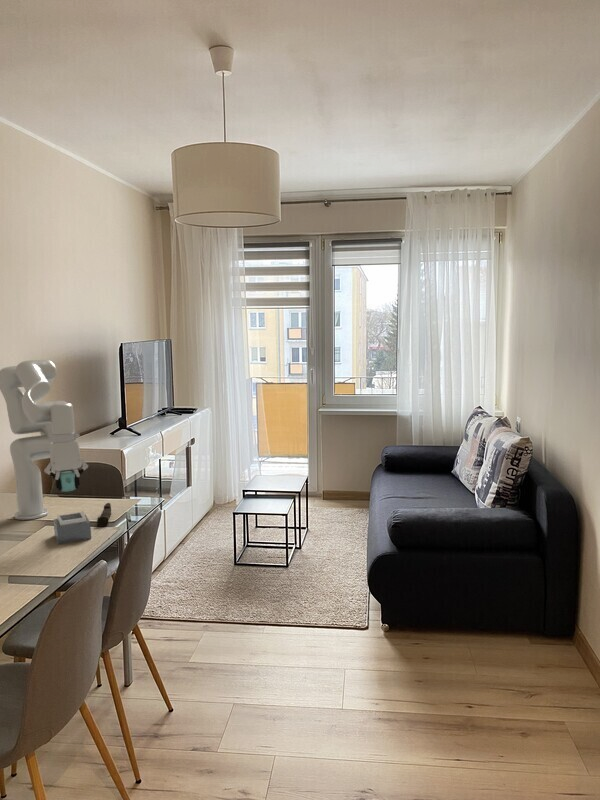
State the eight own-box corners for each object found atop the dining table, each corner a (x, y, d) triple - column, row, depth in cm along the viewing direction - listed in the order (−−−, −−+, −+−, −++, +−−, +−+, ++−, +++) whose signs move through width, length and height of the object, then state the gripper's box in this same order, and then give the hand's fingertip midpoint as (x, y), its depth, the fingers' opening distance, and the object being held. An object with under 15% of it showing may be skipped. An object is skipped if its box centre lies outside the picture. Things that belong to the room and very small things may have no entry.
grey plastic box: (54, 535, 232) (53, 515, 231) (86, 530, 237) (85, 510, 236) (58, 544, 222) (56, 523, 222) (91, 538, 227) (89, 518, 226)
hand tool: (108, 526, 242) (107, 514, 241) (97, 527, 241) (96, 515, 240) (116, 512, 260) (115, 501, 260) (106, 513, 260) (105, 501, 259)
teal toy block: (59, 489, 229) (58, 472, 228) (74, 487, 231) (73, 470, 230) (62, 493, 223) (60, 476, 222) (77, 491, 225) (76, 474, 225)
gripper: (87, 434, 233) (91, 483, 235) (37, 439, 225) (41, 490, 227) (90, 436, 226) (94, 487, 228) (38, 442, 219) (43, 494, 221)
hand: (68, 488), depth 228 cm, fingers closed on teal toy block, 5 cm apart
